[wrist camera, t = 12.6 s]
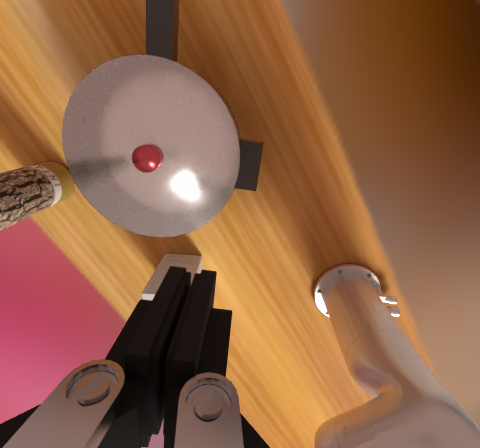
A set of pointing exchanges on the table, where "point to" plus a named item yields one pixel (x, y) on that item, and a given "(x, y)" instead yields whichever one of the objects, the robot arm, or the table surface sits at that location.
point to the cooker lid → (151, 145)
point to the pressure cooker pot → (165, 45)
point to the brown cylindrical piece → (32, 190)
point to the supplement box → (179, 260)
